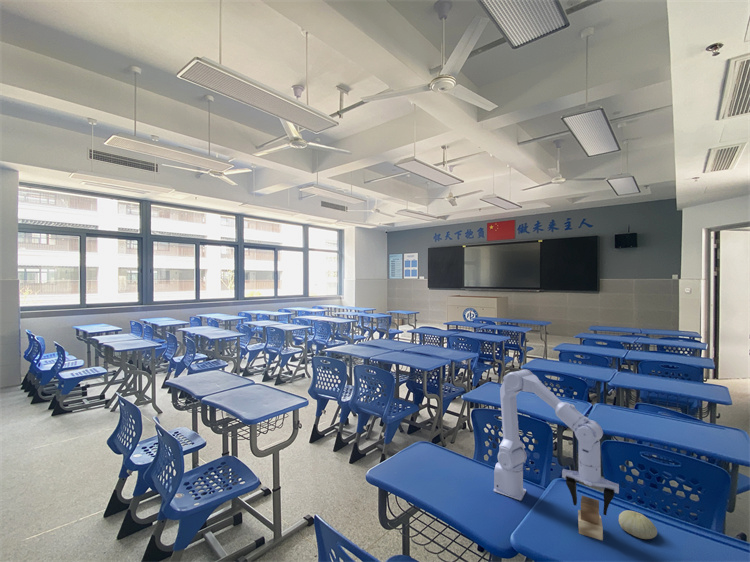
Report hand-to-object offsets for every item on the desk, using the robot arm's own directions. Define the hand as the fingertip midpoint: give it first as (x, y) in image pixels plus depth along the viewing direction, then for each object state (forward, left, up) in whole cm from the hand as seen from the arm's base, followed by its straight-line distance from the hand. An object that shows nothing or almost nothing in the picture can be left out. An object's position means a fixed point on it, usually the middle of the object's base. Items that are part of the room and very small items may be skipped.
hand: (589, 508), depth 104 cm
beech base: (0, 0, -7) cm, 7 cm away
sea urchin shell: (+11, +9, -7) cm, 16 cm away
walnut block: (0, 0, -3) cm, 3 cm away
